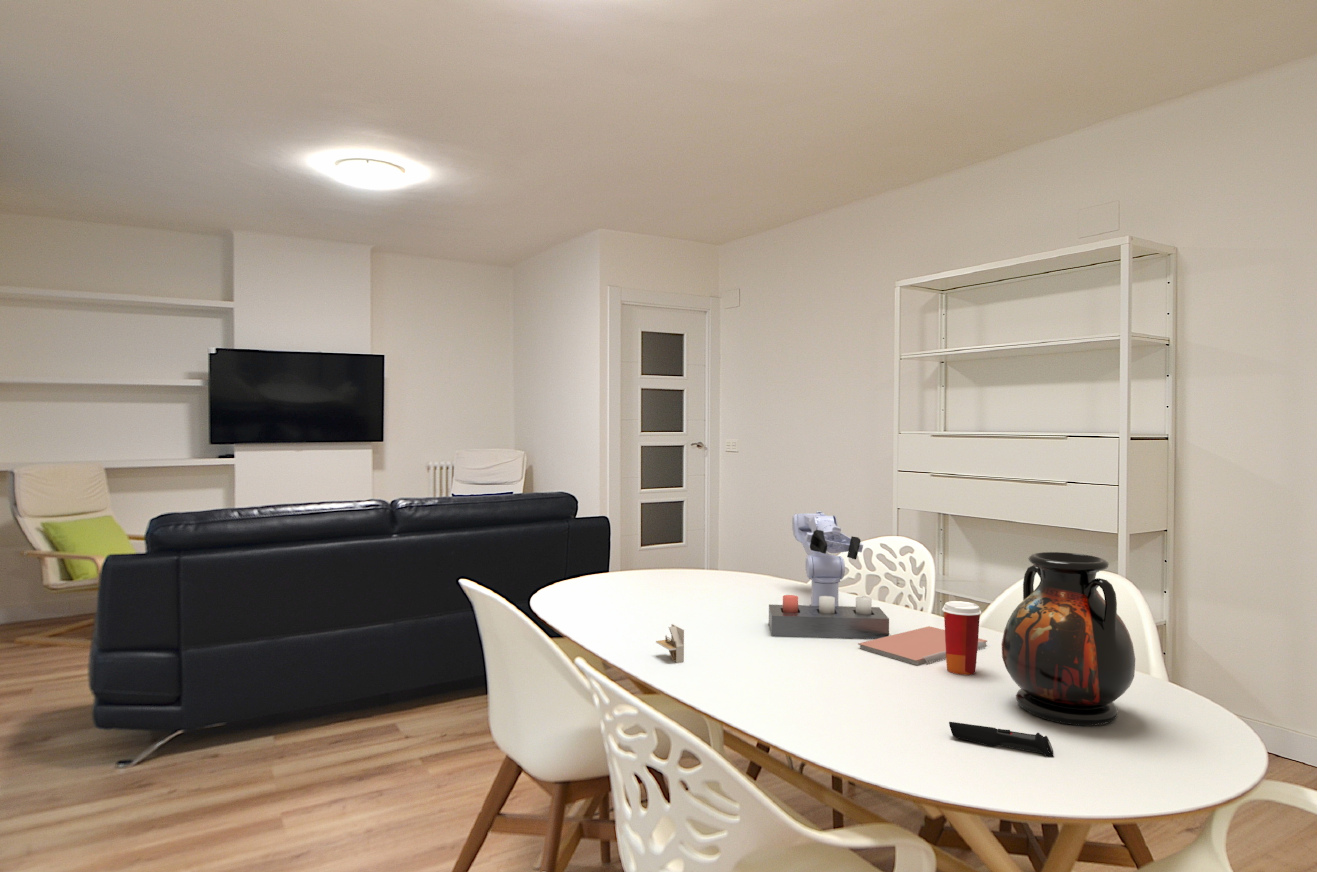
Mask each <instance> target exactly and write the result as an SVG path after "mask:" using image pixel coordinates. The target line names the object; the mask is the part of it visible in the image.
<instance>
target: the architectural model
mask: <svg viewBox="0 0 1317 872" xmlns="http://www.w3.org/2000/svg"><path fill="white" fill-rule="evenodd" d="M668 629H669V632H670V634H671V636H670V637H668V636H667V634H665V636H664V637H665V639H660V640H656V641H655V643H656V644H658V645H660V646H661V647H663V648H664V649H666V650H668V652H669V655H670V658H671V660H672V661H673V662H674V660H675V663H676V664H680V663H684V662H685V629H683V628H681V627H679V626H677V625H675V624H674V623H671V626H668Z"/></svg>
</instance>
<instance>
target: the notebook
mask: <svg viewBox="0 0 1317 872" xmlns="http://www.w3.org/2000/svg"><path fill="white" fill-rule="evenodd" d="M987 643H988V640H987V639H982V638H979V637H978V648H977V651H980V650H983V649H986V646H987ZM857 645H859V649H860V650H863V651H867V652H870V653H873V654H876V655H880V656H883V657H887V658H890V659H893V660H897V661H901V662H904V663H906V664H911V665H914V666H917V667H918V666H921V665H924V664H926V666H927V665H930V664H934V663H938V662H942V661H946V644H945V629H942V628H938V627H934V626H930V625H928V626H925V627H921V628H917V629H912V630H908V631H903V632H900V633H895V634H892V635H889V636H887V637H882V638H878V639H869V640H866V641H861V642H858V643H857Z"/></svg>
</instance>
